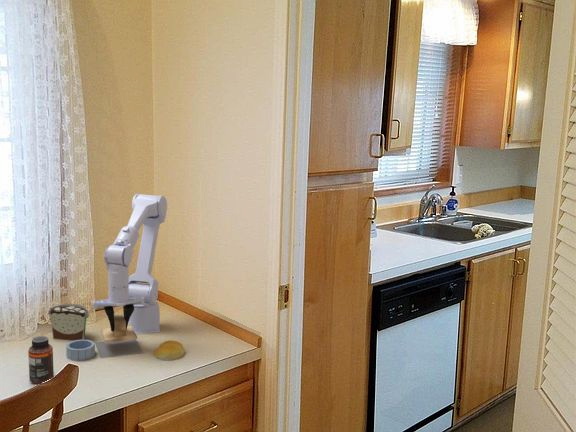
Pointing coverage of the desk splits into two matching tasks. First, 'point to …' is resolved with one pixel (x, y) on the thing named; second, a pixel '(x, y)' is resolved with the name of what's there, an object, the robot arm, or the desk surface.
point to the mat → (118, 348)
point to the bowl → (80, 350)
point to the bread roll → (169, 350)
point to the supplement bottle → (40, 360)
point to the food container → (68, 321)
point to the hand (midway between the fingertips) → (118, 329)
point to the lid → (119, 331)
